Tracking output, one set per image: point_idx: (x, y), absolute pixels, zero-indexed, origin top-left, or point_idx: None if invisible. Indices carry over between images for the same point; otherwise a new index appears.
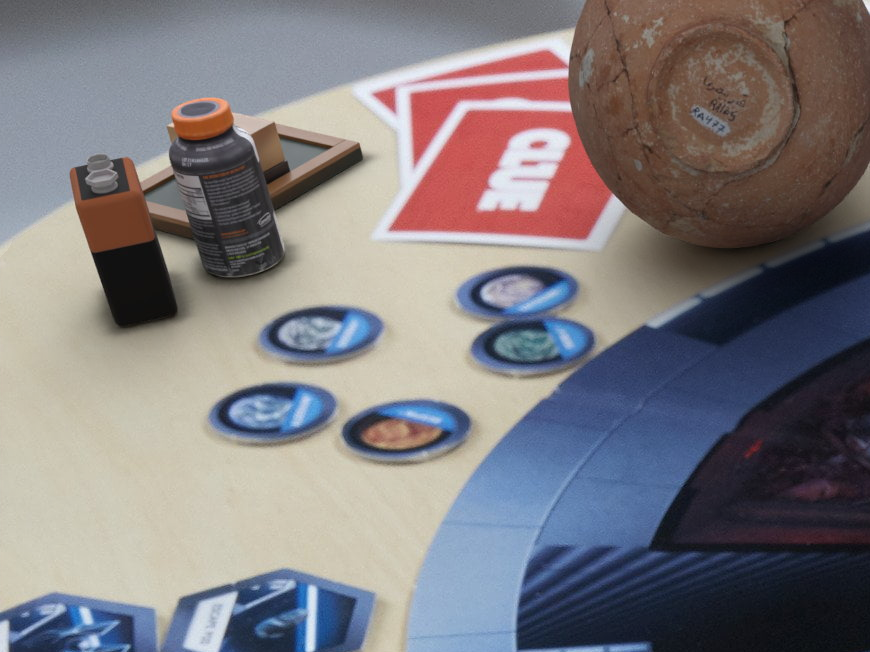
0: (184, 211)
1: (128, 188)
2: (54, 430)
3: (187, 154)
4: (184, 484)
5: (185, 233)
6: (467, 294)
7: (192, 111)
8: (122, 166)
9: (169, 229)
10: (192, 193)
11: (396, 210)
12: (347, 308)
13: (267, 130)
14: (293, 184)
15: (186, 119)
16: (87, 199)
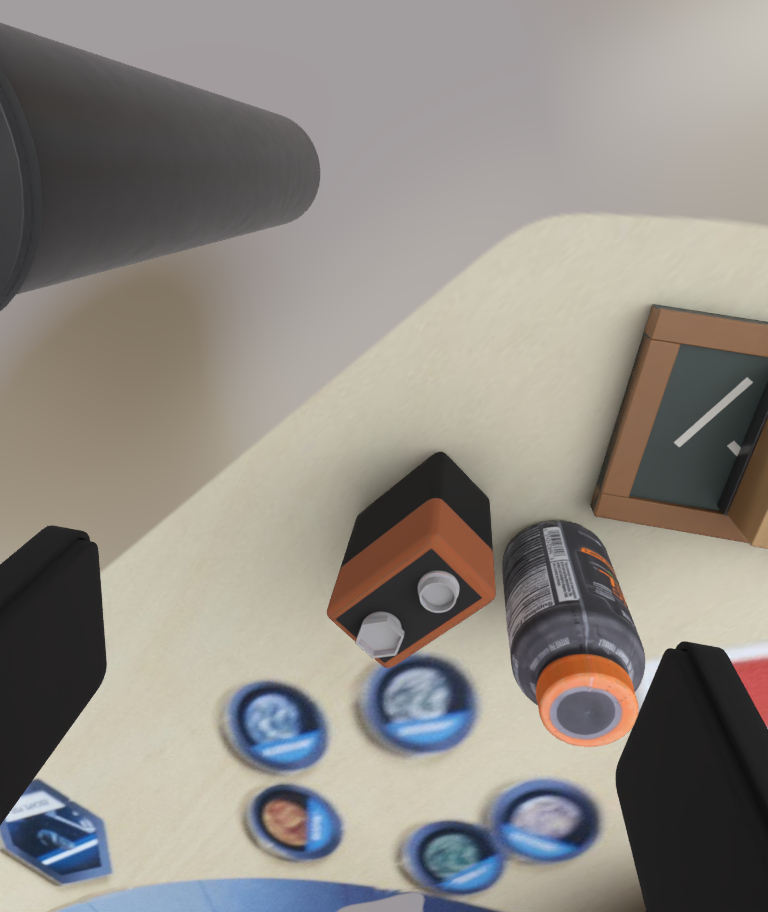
0: (641, 453)
1: (389, 658)
2: (161, 571)
3: (521, 672)
4: (150, 716)
5: (606, 459)
6: (530, 789)
7: (571, 712)
8: (452, 614)
9: (615, 429)
10: (508, 628)
11: None
12: (474, 706)
13: None
14: None
15: (542, 714)
16: (341, 623)
